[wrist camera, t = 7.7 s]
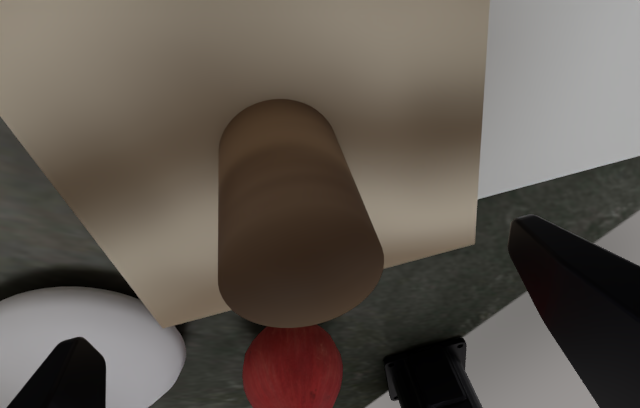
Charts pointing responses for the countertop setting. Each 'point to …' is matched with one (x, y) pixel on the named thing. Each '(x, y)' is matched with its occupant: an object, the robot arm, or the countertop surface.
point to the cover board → (200, 70)
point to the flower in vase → (90, 341)
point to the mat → (558, 90)
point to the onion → (292, 368)
